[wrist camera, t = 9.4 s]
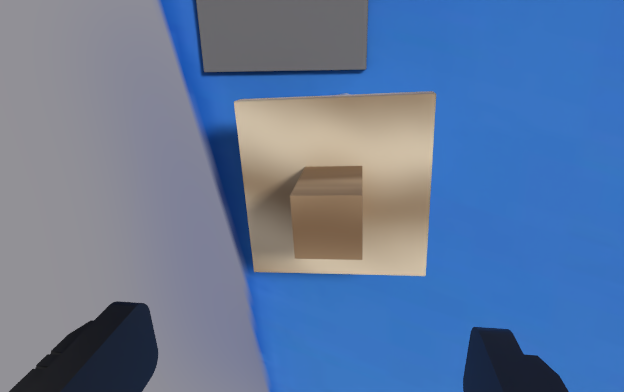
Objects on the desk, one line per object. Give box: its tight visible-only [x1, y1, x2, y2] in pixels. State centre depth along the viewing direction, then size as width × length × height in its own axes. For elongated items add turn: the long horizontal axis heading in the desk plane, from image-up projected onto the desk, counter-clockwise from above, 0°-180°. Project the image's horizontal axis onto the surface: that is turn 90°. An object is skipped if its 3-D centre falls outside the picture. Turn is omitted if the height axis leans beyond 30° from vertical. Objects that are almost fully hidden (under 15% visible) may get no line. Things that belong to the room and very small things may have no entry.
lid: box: [234, 91, 436, 276], centre depth 19 cm, size 10×10×6 cm
